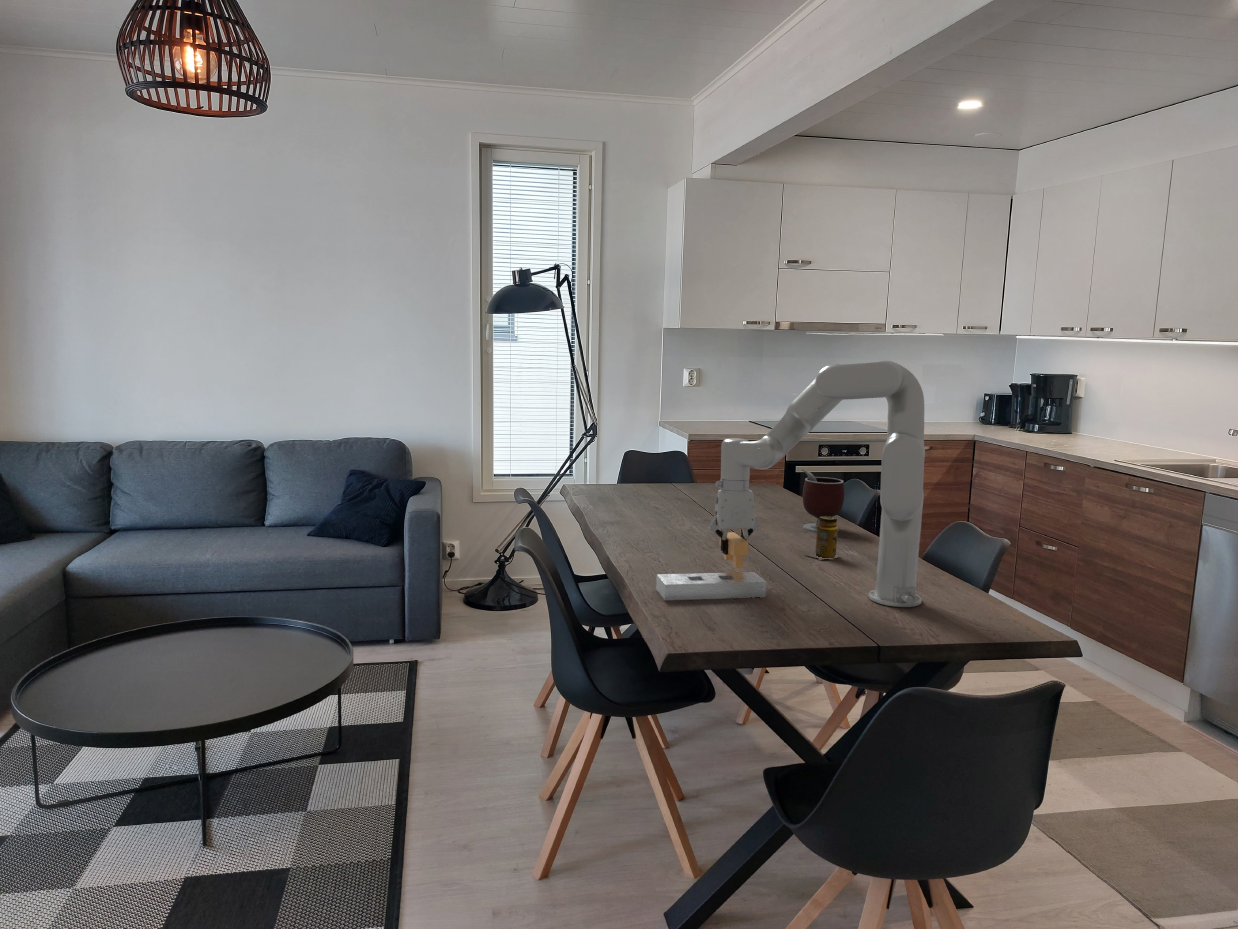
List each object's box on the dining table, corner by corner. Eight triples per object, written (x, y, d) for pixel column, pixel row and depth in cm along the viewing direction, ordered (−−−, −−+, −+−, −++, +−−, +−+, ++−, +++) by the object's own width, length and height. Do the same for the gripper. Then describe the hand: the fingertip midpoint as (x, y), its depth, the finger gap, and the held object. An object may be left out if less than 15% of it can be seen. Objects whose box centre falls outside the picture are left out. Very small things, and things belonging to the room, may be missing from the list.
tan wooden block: (733, 557, 233) (733, 532, 232) (747, 568, 222) (748, 542, 221) (719, 557, 233) (719, 532, 232) (733, 569, 221) (733, 542, 220)
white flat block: (765, 597, 213) (766, 581, 212) (664, 600, 208) (665, 584, 207) (753, 586, 221) (754, 572, 221) (656, 589, 217) (656, 574, 216)
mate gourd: (849, 529, 294) (853, 472, 291) (829, 535, 284) (833, 476, 281) (809, 522, 304) (812, 466, 301) (788, 527, 294) (792, 470, 291)
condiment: (842, 558, 254) (844, 518, 253) (822, 561, 250) (824, 521, 248) (823, 552, 260) (826, 514, 259) (804, 555, 256) (806, 516, 254)
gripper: (708, 488, 219) (707, 558, 222) (770, 486, 222) (768, 555, 225) (700, 484, 226) (699, 551, 229) (760, 482, 229) (758, 548, 232)
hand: (733, 552), depth 227 cm, fingers closed on tan wooden block, 4 cm apart
